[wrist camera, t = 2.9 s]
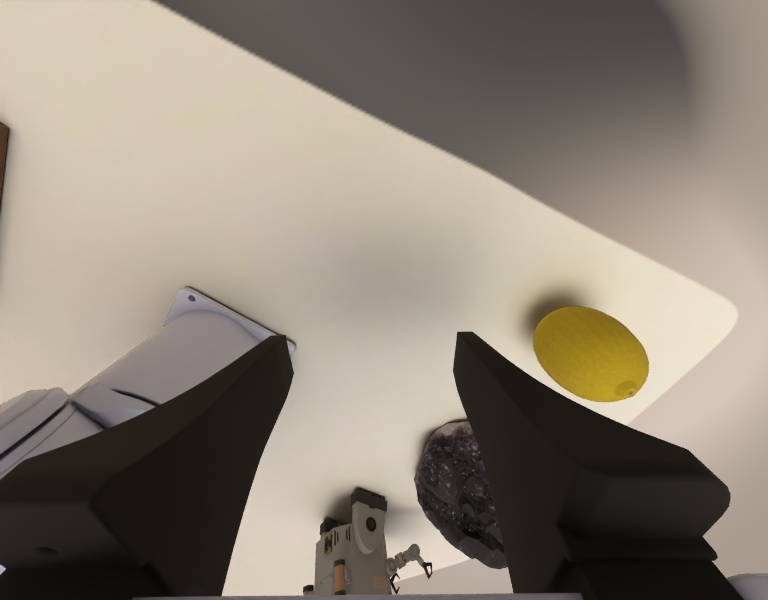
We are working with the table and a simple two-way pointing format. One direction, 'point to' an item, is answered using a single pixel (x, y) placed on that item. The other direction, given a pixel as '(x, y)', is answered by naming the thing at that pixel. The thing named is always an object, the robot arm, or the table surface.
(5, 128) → the tray
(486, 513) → the crystal cluster
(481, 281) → the table surface
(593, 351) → the lemon
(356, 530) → the figurine
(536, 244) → the table surface
